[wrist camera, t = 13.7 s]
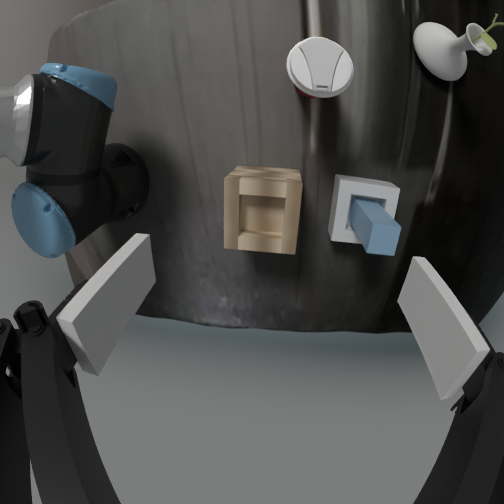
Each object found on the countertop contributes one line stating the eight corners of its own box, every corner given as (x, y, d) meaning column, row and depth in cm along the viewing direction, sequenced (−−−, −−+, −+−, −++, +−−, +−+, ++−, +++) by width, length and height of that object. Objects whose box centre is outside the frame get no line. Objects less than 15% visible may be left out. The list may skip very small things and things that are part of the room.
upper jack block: (236, 221, 49) (224, 248, 39) (238, 165, 44) (224, 178, 35) (293, 226, 48) (294, 254, 38) (299, 169, 43) (302, 184, 34)
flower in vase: (442, 93, 32) (544, 94, 10) (398, 44, 30) (482, 0, 8) (473, 57, 27) (564, 48, 5) (432, 11, 25) (511, -29, 3)
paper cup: (335, 106, 38) (356, 100, 25) (286, 103, 38) (286, 94, 26) (335, 61, 34) (355, 38, 22) (286, 58, 35) (286, 31, 22)
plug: (348, 223, 44) (365, 257, 33) (352, 196, 42) (373, 223, 31) (370, 225, 44) (392, 259, 33) (375, 200, 42) (401, 227, 31)
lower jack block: (327, 230, 47) (331, 240, 43) (335, 174, 43) (340, 179, 39) (379, 235, 46) (387, 246, 42) (390, 182, 42) (399, 188, 38)
